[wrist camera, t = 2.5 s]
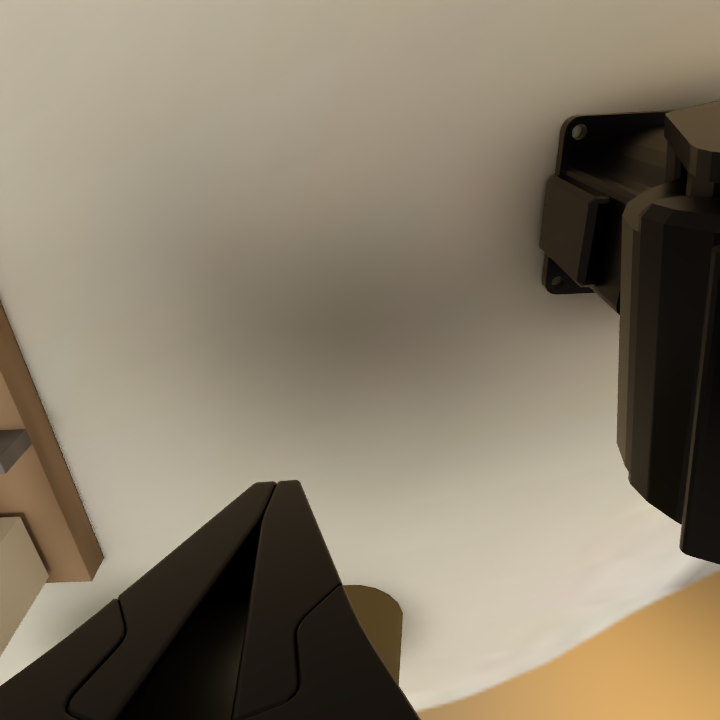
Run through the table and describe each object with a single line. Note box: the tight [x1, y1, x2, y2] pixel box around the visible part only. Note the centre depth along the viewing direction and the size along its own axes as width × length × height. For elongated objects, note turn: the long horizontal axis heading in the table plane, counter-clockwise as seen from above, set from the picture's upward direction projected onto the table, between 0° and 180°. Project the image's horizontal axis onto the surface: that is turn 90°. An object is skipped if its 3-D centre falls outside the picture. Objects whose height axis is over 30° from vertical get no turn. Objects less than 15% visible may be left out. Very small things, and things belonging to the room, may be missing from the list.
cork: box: [343, 585, 403, 685], centre depth 27 cm, size 6×6×11 cm
